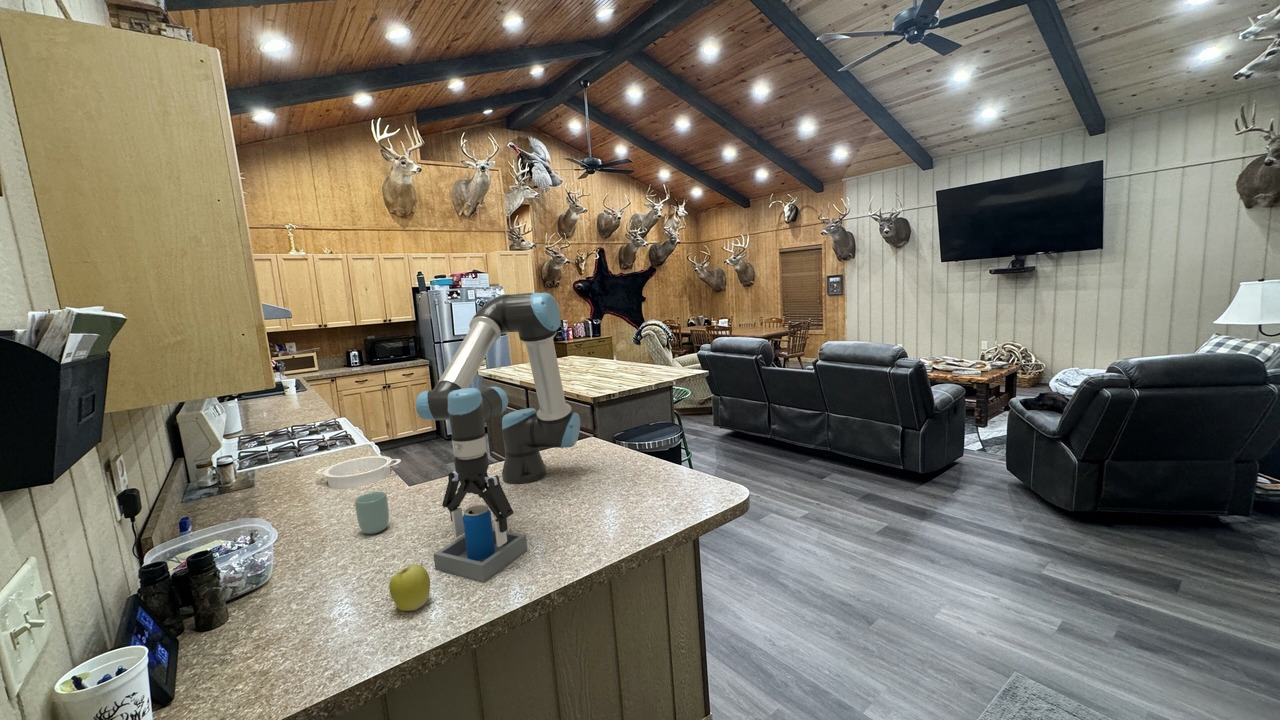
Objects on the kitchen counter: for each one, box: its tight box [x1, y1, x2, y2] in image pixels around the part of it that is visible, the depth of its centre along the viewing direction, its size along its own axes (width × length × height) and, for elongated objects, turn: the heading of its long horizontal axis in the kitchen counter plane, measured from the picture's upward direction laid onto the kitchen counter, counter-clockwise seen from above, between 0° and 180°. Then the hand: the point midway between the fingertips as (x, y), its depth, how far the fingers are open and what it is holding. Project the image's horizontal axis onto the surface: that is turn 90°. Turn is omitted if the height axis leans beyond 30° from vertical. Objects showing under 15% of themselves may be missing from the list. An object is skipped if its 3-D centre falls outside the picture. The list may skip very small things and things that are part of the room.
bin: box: [433, 527, 528, 583], centre depth 126 cm, size 15×15×4 cm
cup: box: [354, 491, 390, 535], centre depth 145 cm, size 8×8×10 cm
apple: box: [388, 564, 431, 612], centre depth 109 cm, size 8×8×10 cm
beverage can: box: [463, 504, 495, 562], centre depth 125 cm, size 6×6×12 cm
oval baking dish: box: [315, 455, 402, 489], centre depth 191 cm, size 29×22×5 cm
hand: (480, 539), depth 125 cm, fingers open, 13 cm apart
